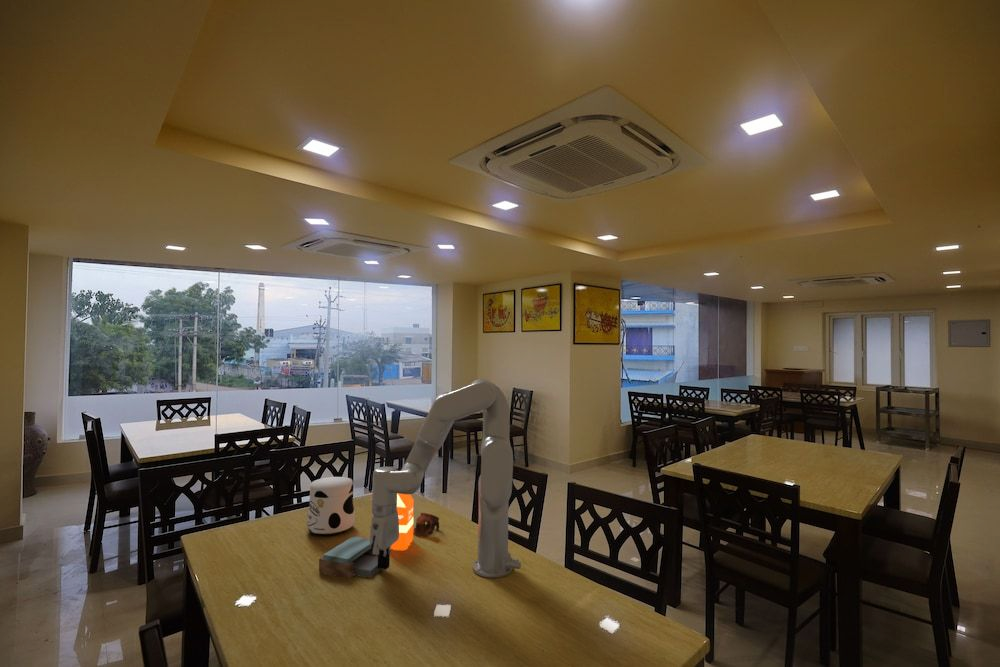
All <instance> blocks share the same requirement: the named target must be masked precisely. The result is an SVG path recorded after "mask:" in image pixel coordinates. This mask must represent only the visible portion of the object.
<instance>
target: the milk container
mask: <svg viewBox="0 0 1000 667" xmlns="http://www.w3.org/2000/svg"><path fill="white" fill-rule="evenodd" d="M353 484H354V483H353V479H352V478H350V477H347V476H346V477H345V476H330V477H329V476H328V477H323V478H318V479H316V480H313V481H312V482H311V483H310V487H309V507H308V511H307V516H306V528H307V530H308V531H309V532H310V533H312V534H314V535H318V536H319V535H320V536H332V535H337V534H341V533H345V532H346V531H348V530H350V529H351V528H352V527H353V526H354V524H355V520H356V511H355V506H354V485H353Z"/></svg>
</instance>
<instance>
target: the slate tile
mask: <svg viewBox="0 0 1000 667" xmlns="http://www.w3.org/2000/svg"><path fill="white" fill-rule="evenodd" d="M352 562H354V574H355V575H354V576H358V575H360V576H359V577H364V576H366V577H365V578H370V577H371V576H372V577H373V576H374V575H375V574H377V573H378V572H379V571H380V570H381V569H380V568H378V557H376V556H370V555H364V554H362V555H361V556H359V557H358V558H356V559H355V560H353V561H352ZM377 571H378V572H377ZM376 572H377V573H376ZM372 577H371V578H372Z"/></svg>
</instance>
